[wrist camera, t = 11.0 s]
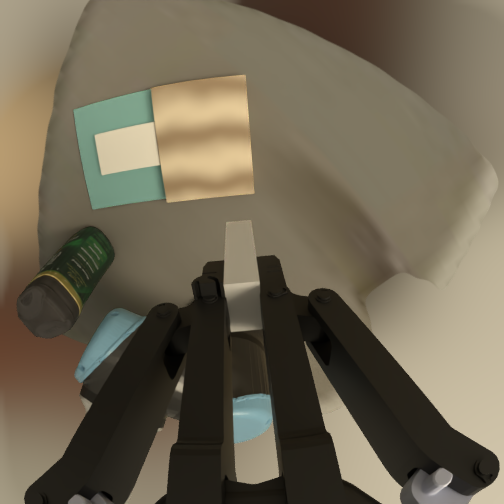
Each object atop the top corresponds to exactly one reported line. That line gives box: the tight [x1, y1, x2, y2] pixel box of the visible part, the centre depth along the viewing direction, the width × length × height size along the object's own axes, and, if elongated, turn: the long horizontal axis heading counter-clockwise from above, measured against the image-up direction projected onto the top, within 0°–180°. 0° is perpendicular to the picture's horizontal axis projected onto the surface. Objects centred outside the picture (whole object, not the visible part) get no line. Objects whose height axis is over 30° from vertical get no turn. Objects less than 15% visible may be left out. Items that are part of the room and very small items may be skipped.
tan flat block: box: [151, 75, 254, 203], centre depth 37 cm, size 16×12×2 cm
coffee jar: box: [17, 227, 115, 338], centre depth 37 cm, size 10×8×19 cm
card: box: [95, 122, 161, 175], centre depth 36 cm, size 6×9×2 cm, turn 94°
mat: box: [74, 89, 166, 209], centre depth 37 cm, size 16×13×1 cm
